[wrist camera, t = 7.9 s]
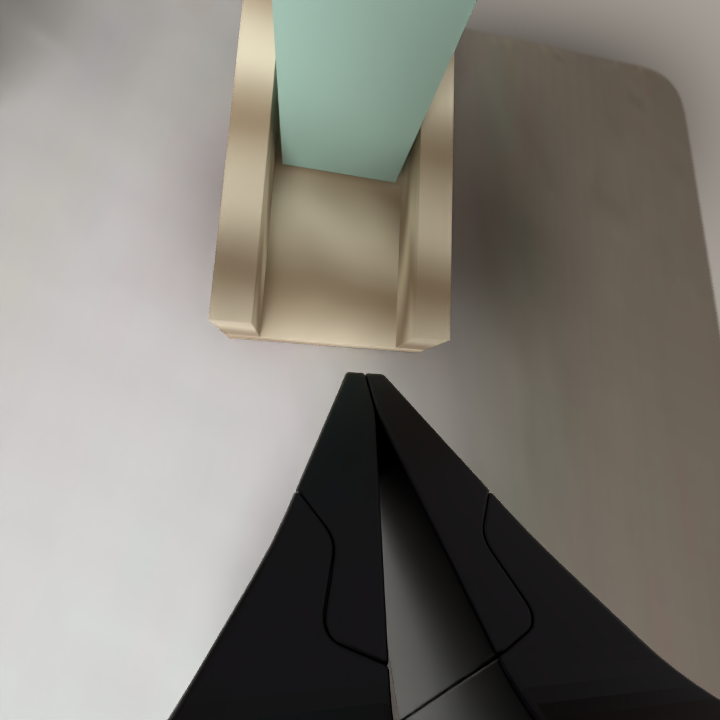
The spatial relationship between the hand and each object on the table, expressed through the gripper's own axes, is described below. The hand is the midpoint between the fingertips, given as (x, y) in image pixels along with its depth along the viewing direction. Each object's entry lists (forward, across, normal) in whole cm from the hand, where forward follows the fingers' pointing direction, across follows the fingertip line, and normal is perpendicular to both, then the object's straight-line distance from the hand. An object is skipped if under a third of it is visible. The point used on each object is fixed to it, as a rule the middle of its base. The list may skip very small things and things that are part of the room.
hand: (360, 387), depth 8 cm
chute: (+15, 0, -1) cm, 15 cm away
